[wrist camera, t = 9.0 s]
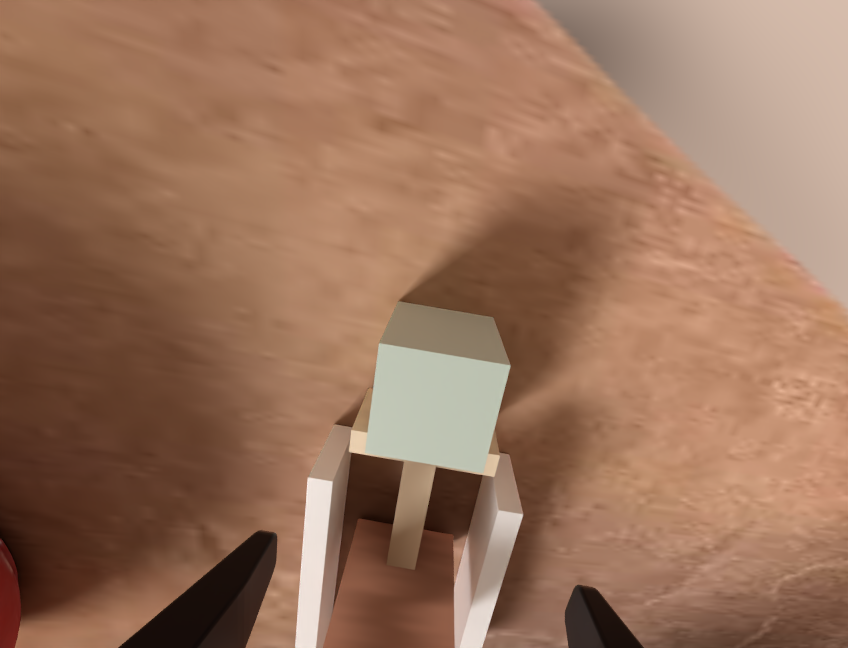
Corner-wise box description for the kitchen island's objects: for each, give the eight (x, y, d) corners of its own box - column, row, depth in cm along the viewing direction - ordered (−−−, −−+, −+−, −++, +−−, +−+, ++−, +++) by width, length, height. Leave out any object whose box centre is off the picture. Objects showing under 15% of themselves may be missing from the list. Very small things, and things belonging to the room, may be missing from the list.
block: (493, 316, 20) (510, 365, 15) (474, 400, 22) (483, 473, 16) (398, 300, 20) (379, 343, 15) (386, 385, 22) (364, 453, 16)
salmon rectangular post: (490, 408, 21) (519, 552, 13) (454, 553, 25) (458, 742, 16) (368, 387, 21) (315, 517, 13) (349, 535, 25) (298, 714, 16)
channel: (509, 454, 23) (523, 514, 19) (455, 647, 28) (457, 727, 24) (333, 424, 23) (307, 477, 19) (314, 622, 28) (291, 698, 24)
